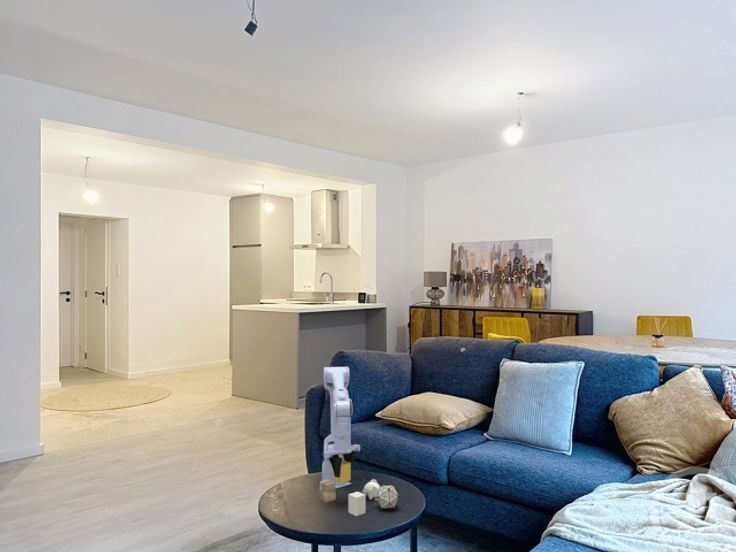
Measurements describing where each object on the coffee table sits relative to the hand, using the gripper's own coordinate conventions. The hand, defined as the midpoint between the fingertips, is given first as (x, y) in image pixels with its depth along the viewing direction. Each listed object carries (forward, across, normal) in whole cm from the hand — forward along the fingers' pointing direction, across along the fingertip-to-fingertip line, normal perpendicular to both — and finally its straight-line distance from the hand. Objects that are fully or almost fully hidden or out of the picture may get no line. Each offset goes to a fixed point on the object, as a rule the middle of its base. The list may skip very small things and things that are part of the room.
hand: (342, 475), depth 194 cm
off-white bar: (+10, -1, -9) cm, 13 cm away
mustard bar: (+2, 0, 0) cm, 2 cm away
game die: (+10, +9, -13) cm, 19 cm away
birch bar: (+10, -1, +7) cm, 12 cm away
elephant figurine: (+10, +12, -3) cm, 16 cm away
